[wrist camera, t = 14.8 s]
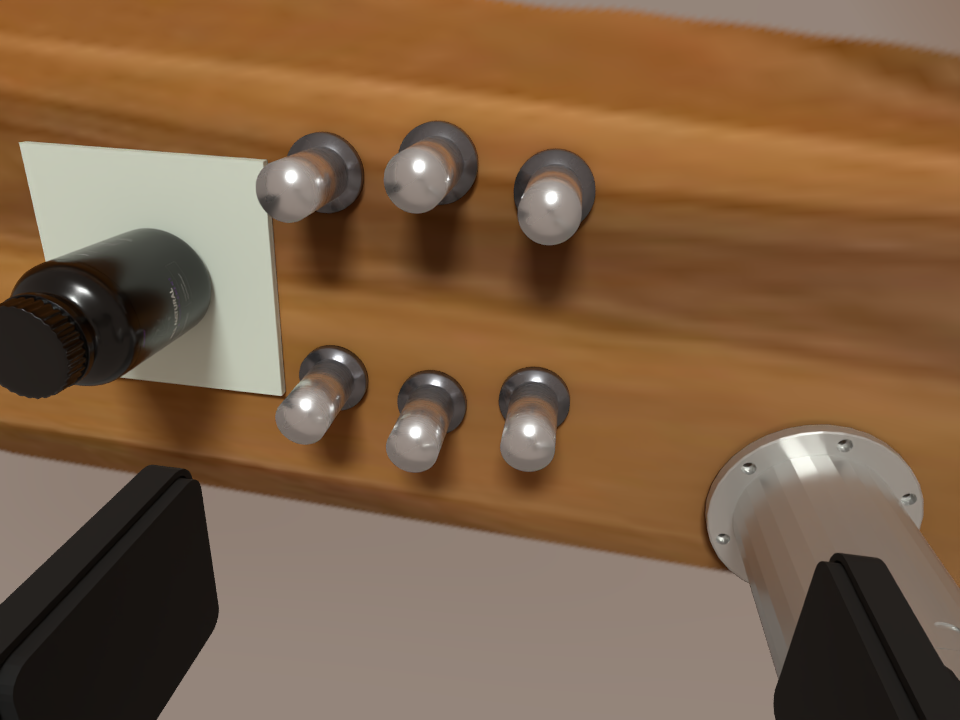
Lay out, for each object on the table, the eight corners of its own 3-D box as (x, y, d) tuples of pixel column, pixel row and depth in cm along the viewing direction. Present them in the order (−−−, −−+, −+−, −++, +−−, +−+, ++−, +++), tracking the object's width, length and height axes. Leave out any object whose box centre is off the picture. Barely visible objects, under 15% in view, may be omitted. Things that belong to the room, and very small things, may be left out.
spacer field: (602, 131, 36) (605, 147, 31) (564, 445, 44) (561, 501, 39) (285, 110, 38) (235, 120, 32) (305, 415, 46) (268, 464, 41)
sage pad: (267, 159, 39) (262, 161, 39) (285, 391, 45) (281, 395, 45) (26, 141, 41) (19, 142, 40) (76, 367, 47) (70, 371, 47)
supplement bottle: (236, 307, 43) (118, 395, 32) (153, 344, 45) (15, 438, 34) (175, 205, 40) (25, 263, 30) (90, 249, 42) (-79, 317, 32)
